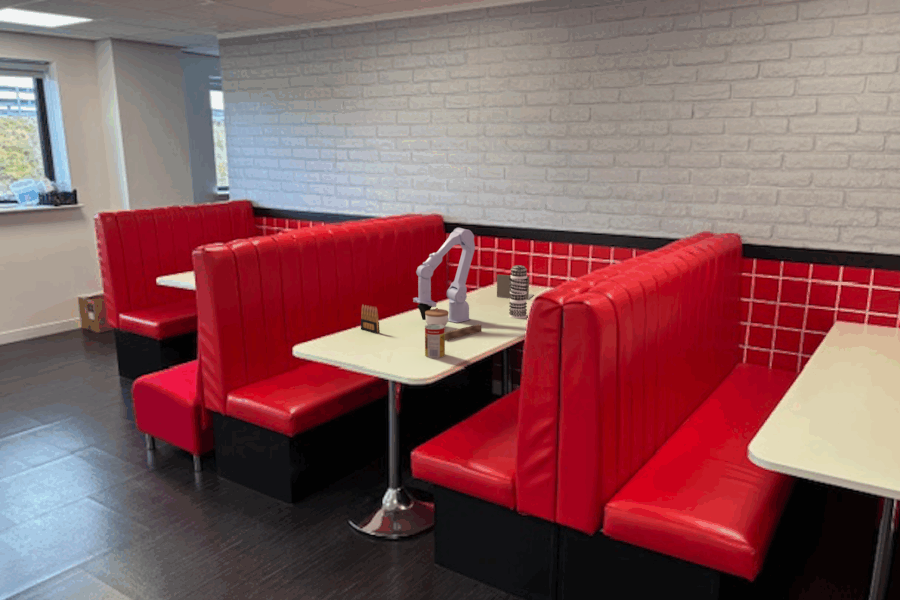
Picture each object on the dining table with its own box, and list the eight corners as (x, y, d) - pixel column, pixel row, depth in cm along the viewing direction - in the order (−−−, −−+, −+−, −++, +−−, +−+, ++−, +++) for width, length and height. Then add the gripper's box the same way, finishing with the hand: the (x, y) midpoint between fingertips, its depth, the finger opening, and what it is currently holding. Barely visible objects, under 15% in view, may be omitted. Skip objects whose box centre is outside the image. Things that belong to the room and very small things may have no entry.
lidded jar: (452, 327, 318) (452, 307, 316) (440, 332, 309) (440, 312, 307) (433, 323, 323) (433, 304, 321) (420, 329, 314) (420, 309, 312)
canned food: (444, 352, 279) (444, 323, 277) (445, 358, 272) (445, 329, 269) (425, 352, 279) (424, 324, 276) (425, 358, 271) (424, 329, 269)
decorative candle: (517, 319, 331) (518, 268, 326) (504, 315, 339) (505, 265, 333) (531, 316, 337) (532, 266, 331) (518, 313, 344) (519, 263, 338)
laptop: (533, 295, 385) (534, 272, 382) (528, 300, 373) (529, 276, 370) (503, 293, 391) (503, 270, 388) (496, 297, 379) (497, 274, 377)
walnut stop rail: (478, 330, 312) (478, 324, 311) (481, 331, 310) (481, 325, 310) (441, 339, 297) (441, 332, 297) (445, 340, 296) (445, 333, 295)
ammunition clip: (379, 332, 308) (379, 306, 305) (376, 333, 306) (376, 307, 304) (363, 328, 315) (363, 303, 312) (360, 329, 313) (359, 303, 311)
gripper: (408, 289, 321) (408, 317, 324) (428, 294, 311) (428, 323, 314) (419, 287, 326) (420, 315, 329) (439, 292, 315) (439, 321, 318)
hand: (424, 319), depth 322 cm, fingers closed
